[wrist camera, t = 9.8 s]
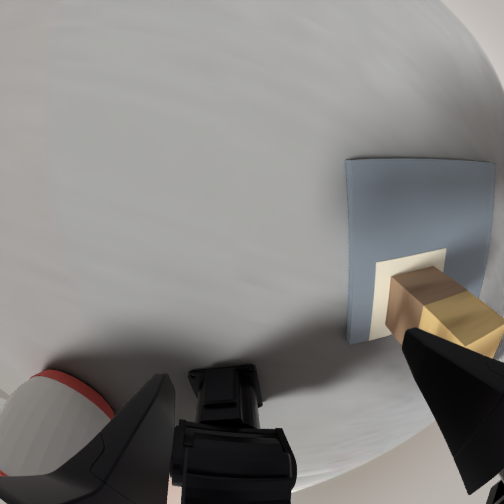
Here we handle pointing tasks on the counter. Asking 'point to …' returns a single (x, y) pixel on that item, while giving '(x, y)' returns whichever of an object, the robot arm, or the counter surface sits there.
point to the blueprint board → (413, 229)
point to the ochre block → (464, 323)
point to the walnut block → (416, 297)
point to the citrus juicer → (48, 423)
